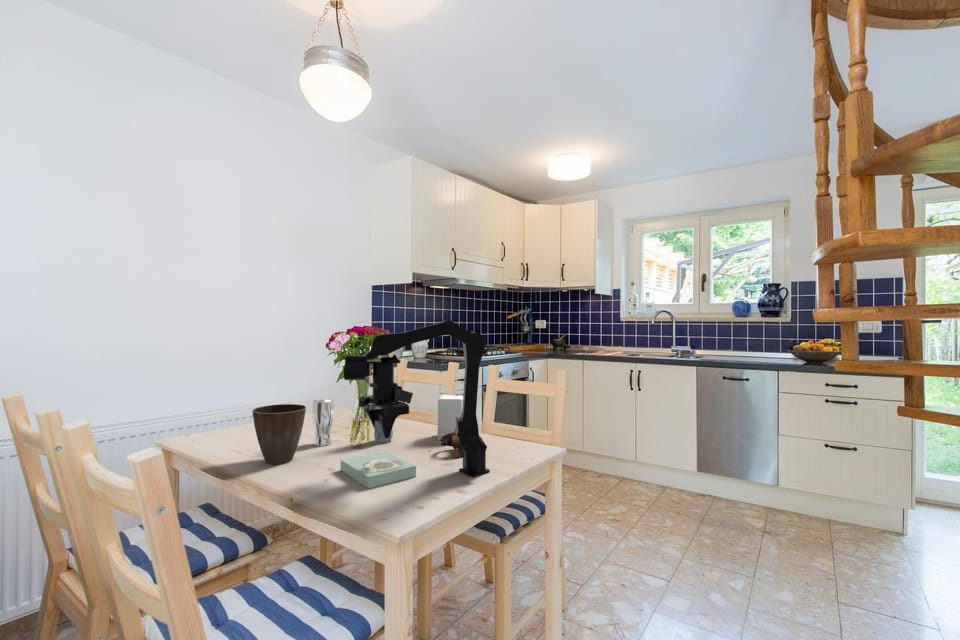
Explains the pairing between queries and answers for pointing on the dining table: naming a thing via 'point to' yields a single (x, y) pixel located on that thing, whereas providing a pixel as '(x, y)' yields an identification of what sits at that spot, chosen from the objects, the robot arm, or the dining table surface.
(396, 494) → the dining table surface
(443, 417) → the supplement box
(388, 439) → the dark metal cylinder
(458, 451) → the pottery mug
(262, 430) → the plant pot
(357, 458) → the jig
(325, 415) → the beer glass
